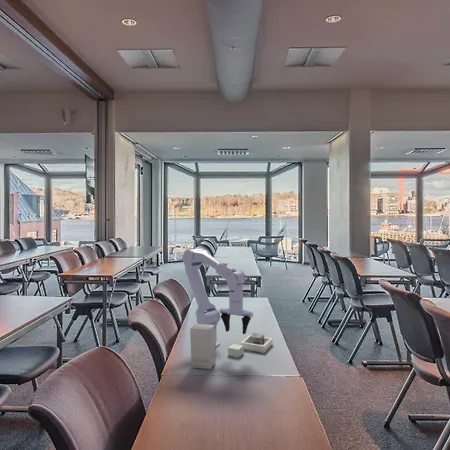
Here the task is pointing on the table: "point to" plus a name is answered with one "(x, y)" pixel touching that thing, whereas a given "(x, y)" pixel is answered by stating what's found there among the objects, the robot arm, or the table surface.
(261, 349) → the box
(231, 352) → the pale green box
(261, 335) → the metal block
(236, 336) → the table surface
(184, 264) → the robot arm
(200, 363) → the skincare box
